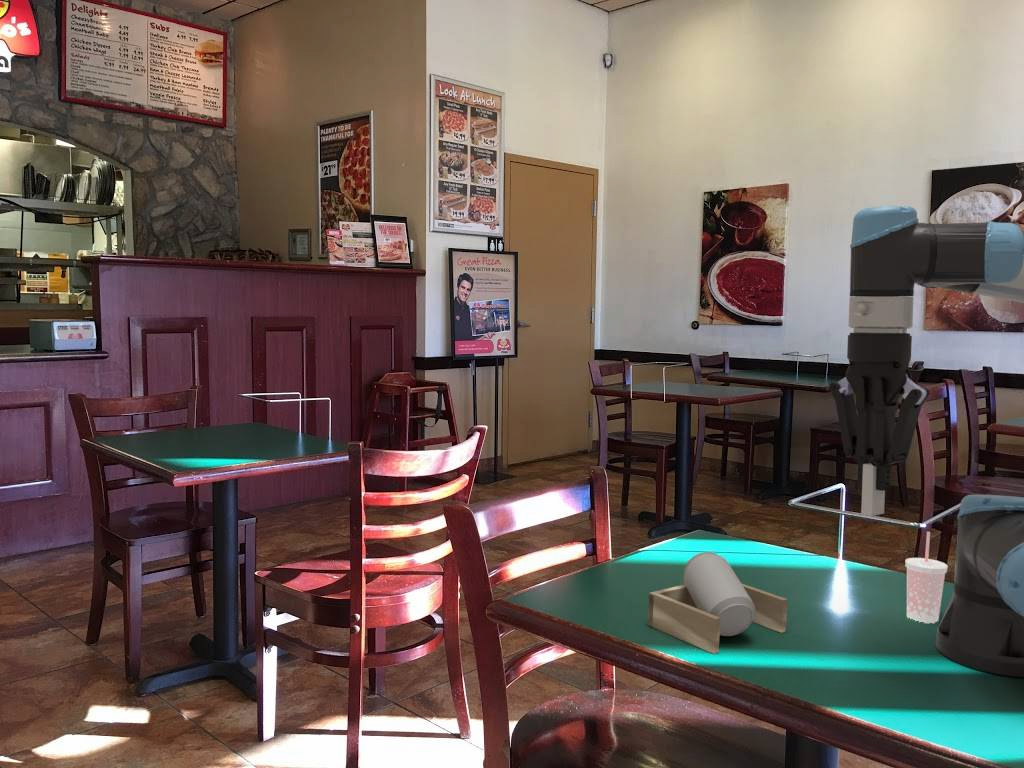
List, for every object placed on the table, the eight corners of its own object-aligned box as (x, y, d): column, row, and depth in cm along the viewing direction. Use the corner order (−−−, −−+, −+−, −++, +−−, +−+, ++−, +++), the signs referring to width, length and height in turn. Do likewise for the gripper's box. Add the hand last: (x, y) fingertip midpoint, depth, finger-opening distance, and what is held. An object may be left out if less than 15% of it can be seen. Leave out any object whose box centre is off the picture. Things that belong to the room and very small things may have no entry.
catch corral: (718, 606, 142) (720, 576, 142) (785, 631, 132) (787, 599, 131) (647, 624, 133) (649, 592, 132) (713, 653, 122) (715, 619, 122)
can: (755, 636, 128) (722, 581, 139) (761, 597, 125) (727, 544, 135) (706, 643, 127) (677, 588, 137) (711, 604, 124) (681, 550, 134)
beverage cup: (948, 627, 136) (955, 538, 134) (906, 623, 137) (912, 535, 136) (937, 613, 142) (944, 528, 140) (897, 610, 143) (903, 525, 142)
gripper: (817, 330, 114) (811, 507, 116) (910, 332, 104) (902, 528, 106) (852, 329, 119) (846, 501, 121) (945, 331, 108) (937, 519, 110)
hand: (872, 513), depth 113 cm, fingers closed
